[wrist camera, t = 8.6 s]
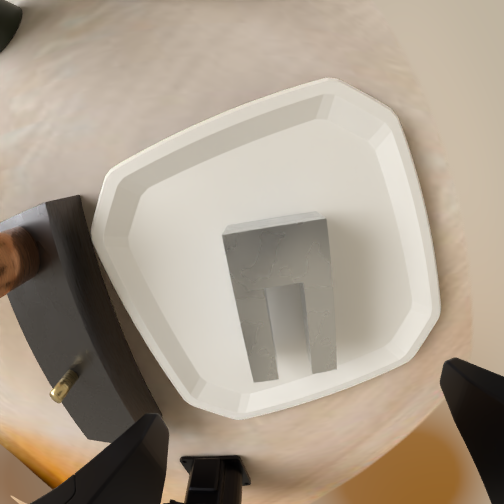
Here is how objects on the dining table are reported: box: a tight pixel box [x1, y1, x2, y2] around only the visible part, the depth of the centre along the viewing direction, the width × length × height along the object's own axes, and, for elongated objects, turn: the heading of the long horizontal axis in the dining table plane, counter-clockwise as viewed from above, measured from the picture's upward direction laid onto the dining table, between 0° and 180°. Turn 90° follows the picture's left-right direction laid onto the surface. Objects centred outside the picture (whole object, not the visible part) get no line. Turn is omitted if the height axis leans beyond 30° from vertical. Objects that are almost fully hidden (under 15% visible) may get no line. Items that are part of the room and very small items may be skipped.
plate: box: [90, 77, 441, 420], centre depth 18 cm, size 21×21×2 cm
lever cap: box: [222, 211, 337, 383], centre depth 16 cm, size 9×5×2 cm, turn 10°
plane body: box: [0, 195, 162, 443], centre depth 17 cm, size 20×7×8 cm, turn 11°
